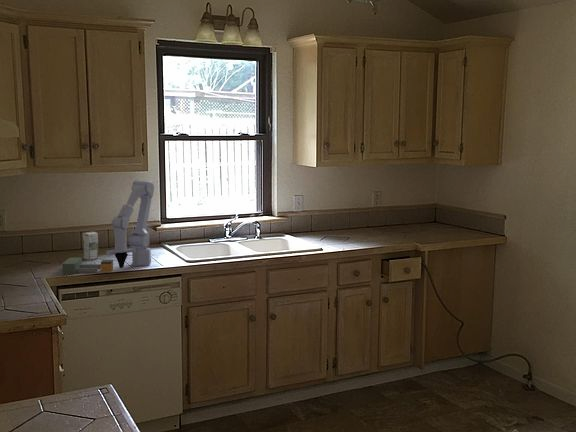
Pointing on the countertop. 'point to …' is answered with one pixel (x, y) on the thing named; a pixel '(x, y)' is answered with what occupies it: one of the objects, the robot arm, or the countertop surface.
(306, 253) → the countertop surface
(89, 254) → the syrup box
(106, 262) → the orange-topped grey cube
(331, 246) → the countertop surface
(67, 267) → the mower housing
